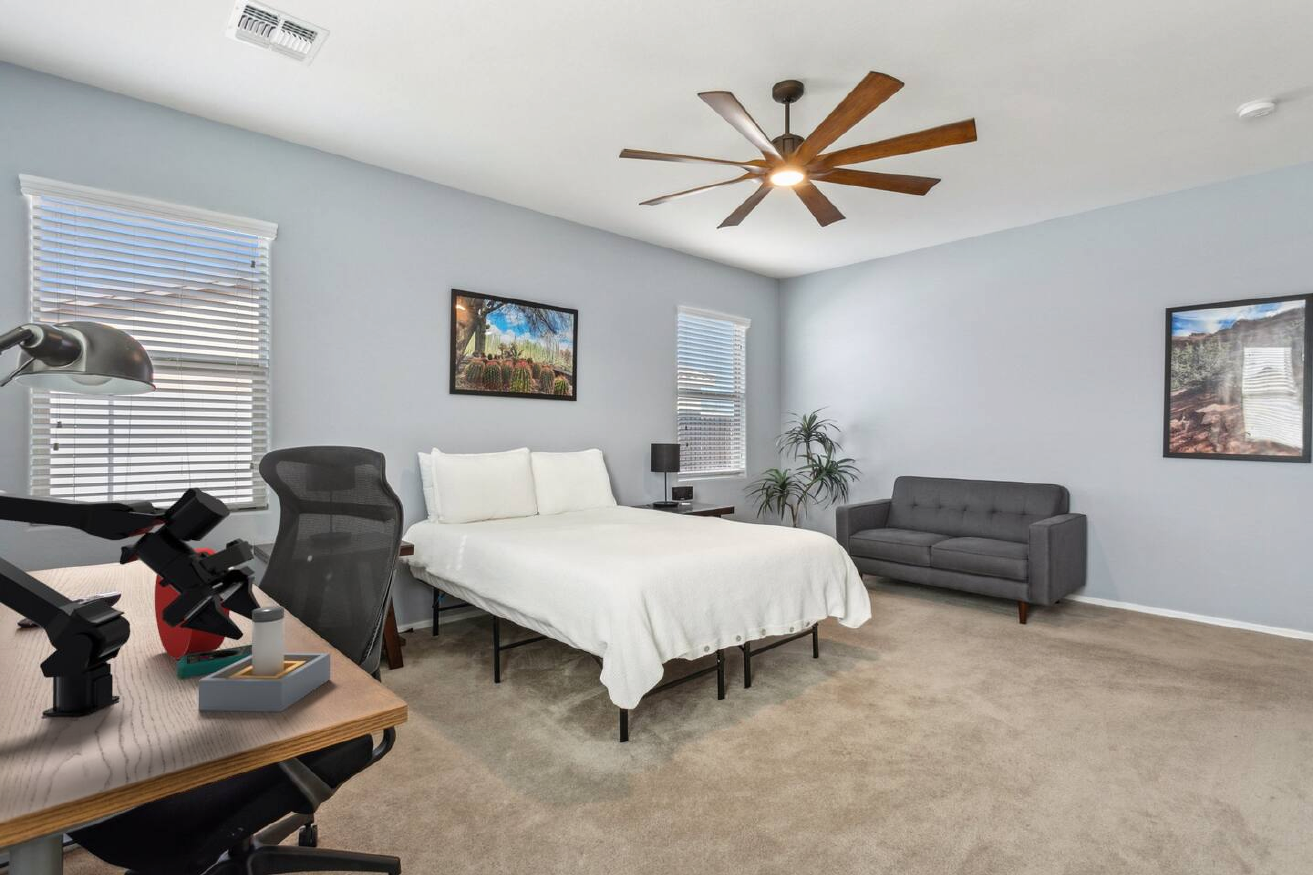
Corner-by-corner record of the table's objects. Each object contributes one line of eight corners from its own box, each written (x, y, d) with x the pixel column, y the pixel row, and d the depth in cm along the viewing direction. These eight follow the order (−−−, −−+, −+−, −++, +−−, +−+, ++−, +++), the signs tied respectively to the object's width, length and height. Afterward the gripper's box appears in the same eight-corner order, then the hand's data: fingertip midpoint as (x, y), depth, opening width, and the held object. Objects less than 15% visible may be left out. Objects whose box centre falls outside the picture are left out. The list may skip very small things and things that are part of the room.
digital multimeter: (177, 670, 115) (178, 653, 115) (273, 654, 124) (273, 638, 124) (176, 682, 109) (176, 665, 109) (277, 664, 118) (277, 648, 118)
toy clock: (229, 659, 119) (230, 552, 119) (192, 669, 114) (193, 557, 115) (189, 640, 131) (189, 543, 131) (154, 648, 126) (154, 547, 126)
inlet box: (198, 710, 97) (198, 680, 97) (256, 678, 110) (256, 652, 110) (281, 711, 96) (281, 681, 96) (330, 679, 109) (330, 653, 109)
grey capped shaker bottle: (250, 694, 100) (251, 614, 100) (253, 685, 104) (253, 608, 104) (283, 689, 102) (283, 610, 102) (284, 680, 106) (284, 604, 106)
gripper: (187, 533, 92) (270, 606, 94) (242, 518, 111) (311, 580, 113) (124, 589, 91) (210, 663, 93) (190, 565, 109) (261, 627, 111)
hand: (253, 629), depth 102 cm, fingers open, 9 cm apart
